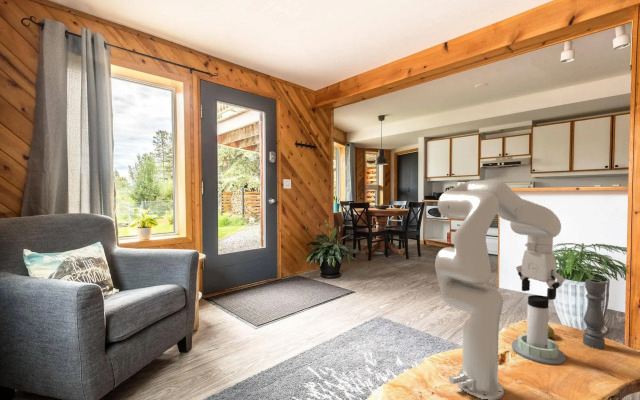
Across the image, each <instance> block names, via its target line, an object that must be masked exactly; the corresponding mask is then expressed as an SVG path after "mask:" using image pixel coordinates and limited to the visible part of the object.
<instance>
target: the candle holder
mask: <svg viewBox="0 0 640 400" xmlns="http://www.w3.org/2000/svg"><path fill="white" fill-rule="evenodd" d="M584 287H585V291H587V294H586V295H585V297H586V298H587V308H586V311H585V313H584V317H583V322H584V323H585V325H586V328H585V329H584V331H583V332H584V333H583V334H582V343H583V344H584V345H585V346H586V345H587V346H586V347H589V348H592V347H593V348H592V349H595V348H597V350H604V349H605V343H606V342H605V340H606V339H605V338H604V337H605V335H604V333H603V332H602V331H603V328H604V327H605V326H606V325H605V324H606V322H605V321H606V320H605V318H604V314H603V310H602V303H603V301H604V300H605V298H604V297H603V294H605V292H606V282H605V280H604V281H603V280H600V279H594V278H586V279H585V285H584ZM603 348H604V349H603Z"/></svg>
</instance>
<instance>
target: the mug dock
mask: <svg viewBox="0 0 640 400" xmlns="http://www.w3.org/2000/svg"><path fill="white" fill-rule="evenodd" d="M511 349H512V350H513V351H514V352H515V353H516V354H517V355H519V356H520V357H522V358H523V359H526V360H529V361H532V362H536V363H538V364H543V365H549V366H558V365H562V364H565V362H566V355H565V353H564V352H563V351H562V350H560V346H559V344H558V343H556V341H554V340H551V339H550V338H548V347H547V349H543V348H538V347H534V346H531V345H529V344H527V333H522V334H519V335H518V337H517V339H516V340H513V341H512V343H511Z"/></svg>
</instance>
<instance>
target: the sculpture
mask: <svg viewBox="0 0 640 400" xmlns="http://www.w3.org/2000/svg"><path fill="white" fill-rule="evenodd" d="M554 335H555V330H554V329H553V328H552V327H551V326H550V325H548V339H550V338H553V336H554Z"/></svg>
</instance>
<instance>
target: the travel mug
mask: <svg viewBox="0 0 640 400" xmlns="http://www.w3.org/2000/svg"><path fill="white" fill-rule="evenodd" d="M549 301H550V300H548V299H547V295H546V296H544V295H538V294H535V295H534V294H533V295H529V296H528V297H527V314H526V315H527V319H526V321H527V322H526V334H527V344H529V345H531V346H534V347H538V348H543V349H547V347H548V339H549V338H548V326H549V312H550V311H549Z"/></svg>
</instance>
